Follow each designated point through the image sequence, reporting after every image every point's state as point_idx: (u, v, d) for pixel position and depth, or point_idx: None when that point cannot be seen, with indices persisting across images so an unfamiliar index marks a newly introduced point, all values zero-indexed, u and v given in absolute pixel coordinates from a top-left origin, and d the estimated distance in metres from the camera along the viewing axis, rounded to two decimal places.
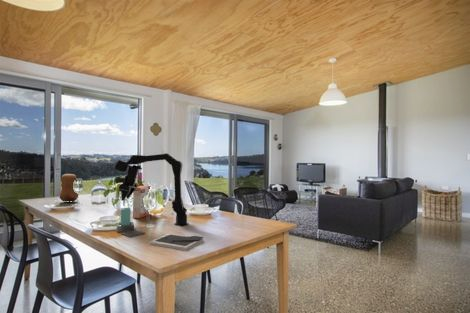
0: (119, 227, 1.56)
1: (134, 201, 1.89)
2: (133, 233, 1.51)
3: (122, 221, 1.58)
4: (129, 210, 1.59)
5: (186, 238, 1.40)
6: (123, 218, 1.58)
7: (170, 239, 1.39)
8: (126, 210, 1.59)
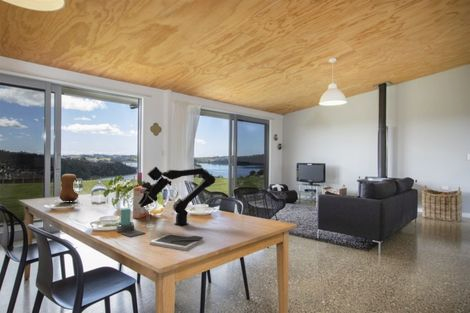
0: (119, 227, 1.56)
1: (134, 201, 1.89)
2: (133, 233, 1.51)
3: (122, 221, 1.58)
4: (129, 210, 1.59)
5: (186, 238, 1.39)
6: (123, 218, 1.58)
7: (170, 239, 1.39)
8: (126, 210, 1.59)
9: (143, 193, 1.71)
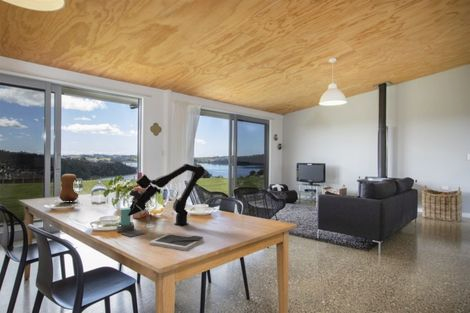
0: (119, 227, 1.56)
1: None
2: (133, 233, 1.51)
3: (122, 221, 1.58)
4: (129, 210, 1.59)
5: (186, 238, 1.39)
6: (123, 218, 1.58)
7: (170, 239, 1.39)
8: (126, 210, 1.59)
9: (132, 201, 1.69)
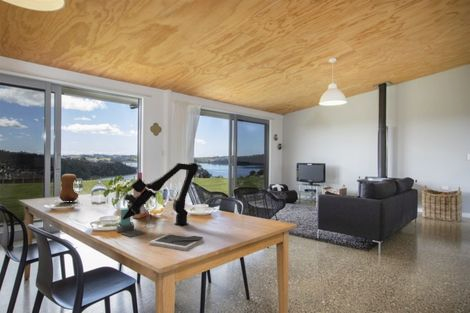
0: (119, 227, 1.56)
1: None
2: (133, 233, 1.51)
3: (122, 221, 1.58)
4: None
5: (186, 238, 1.39)
6: None
7: (170, 239, 1.39)
8: (126, 210, 1.59)
9: (127, 205, 1.66)
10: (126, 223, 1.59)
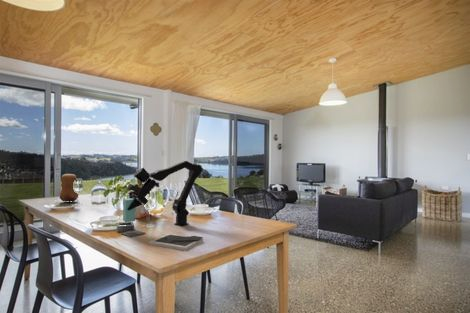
0: (119, 227, 1.56)
1: None
2: (133, 233, 1.51)
3: (127, 212, 1.53)
4: None
5: (186, 238, 1.39)
6: None
7: (170, 239, 1.39)
8: (131, 200, 1.54)
9: (129, 196, 1.60)
10: (131, 214, 1.54)
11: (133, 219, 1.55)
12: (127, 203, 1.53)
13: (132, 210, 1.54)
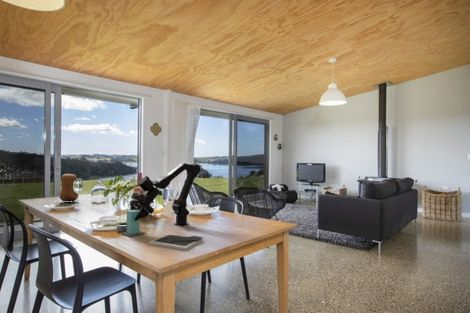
0: (119, 227, 1.56)
1: None
2: None
3: (132, 224, 1.49)
4: None
5: (186, 238, 1.39)
6: (133, 221, 1.49)
7: (169, 239, 1.39)
8: (136, 212, 1.51)
9: (130, 205, 1.58)
10: (136, 226, 1.51)
11: (138, 231, 1.52)
12: (132, 215, 1.49)
13: (137, 222, 1.51)
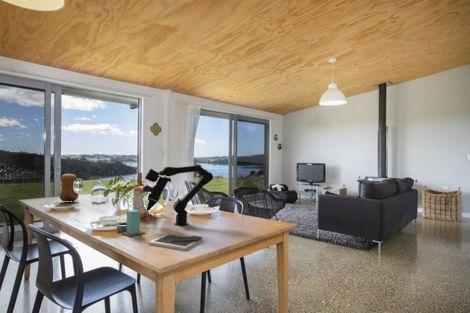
0: (119, 227, 1.56)
1: (134, 201, 1.89)
2: None
3: (132, 224, 1.49)
4: (139, 212, 1.52)
5: (185, 238, 1.39)
6: (133, 221, 1.49)
7: (169, 239, 1.39)
8: (136, 212, 1.51)
9: None
10: (136, 226, 1.51)
11: (138, 231, 1.52)
12: (132, 215, 1.49)
13: (137, 222, 1.51)
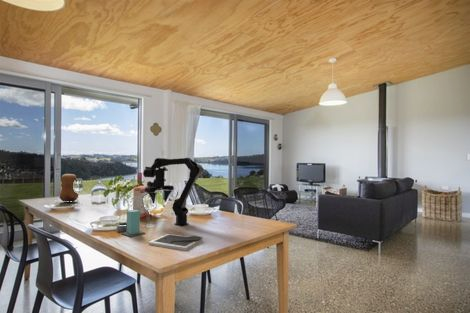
0: (119, 227, 1.56)
1: (134, 201, 1.89)
2: None
3: (132, 224, 1.49)
4: (139, 212, 1.52)
5: (185, 238, 1.39)
6: (133, 221, 1.49)
7: (169, 239, 1.38)
8: (136, 212, 1.51)
9: None
10: (136, 226, 1.51)
11: (138, 231, 1.52)
12: (132, 215, 1.49)
13: (137, 222, 1.51)
